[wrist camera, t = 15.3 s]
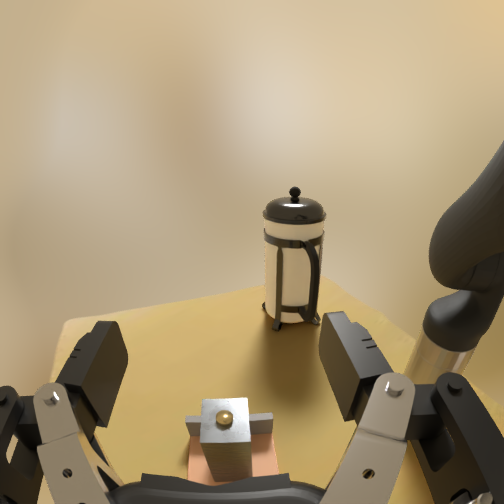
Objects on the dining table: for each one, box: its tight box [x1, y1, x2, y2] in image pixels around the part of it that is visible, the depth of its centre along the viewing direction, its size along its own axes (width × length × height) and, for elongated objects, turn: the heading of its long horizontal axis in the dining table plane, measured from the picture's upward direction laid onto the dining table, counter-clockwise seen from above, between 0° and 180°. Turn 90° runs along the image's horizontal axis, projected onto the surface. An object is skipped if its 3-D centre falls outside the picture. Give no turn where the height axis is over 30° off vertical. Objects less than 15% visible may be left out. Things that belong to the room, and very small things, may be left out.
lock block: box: [200, 398, 253, 482], centre depth 28 cm, size 5×6×13 cm
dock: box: [185, 412, 279, 486], centre depth 30 cm, size 12×13×6 cm
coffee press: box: [262, 187, 326, 331], centre depth 59 cm, size 17×16×30 cm
